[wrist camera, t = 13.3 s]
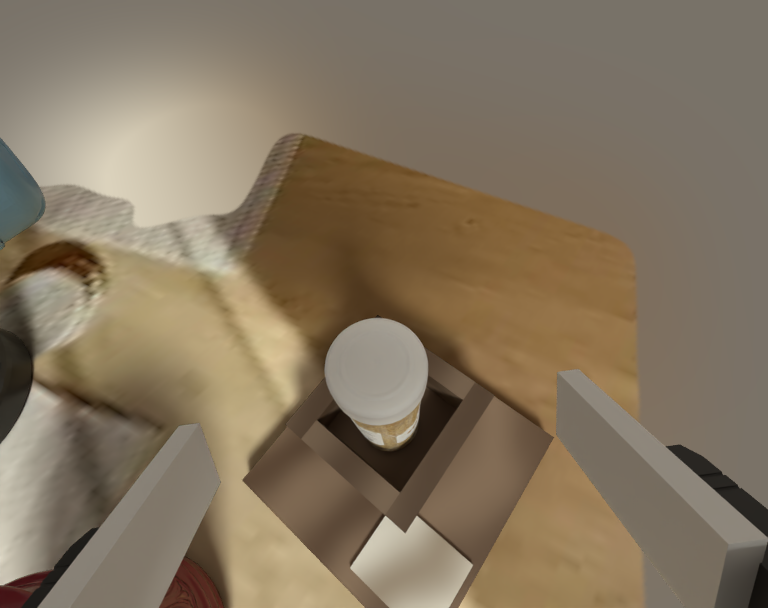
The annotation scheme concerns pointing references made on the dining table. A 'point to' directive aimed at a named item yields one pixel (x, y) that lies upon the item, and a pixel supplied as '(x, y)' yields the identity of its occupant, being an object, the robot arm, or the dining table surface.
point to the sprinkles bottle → (379, 380)
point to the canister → (180, 604)
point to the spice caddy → (403, 490)
